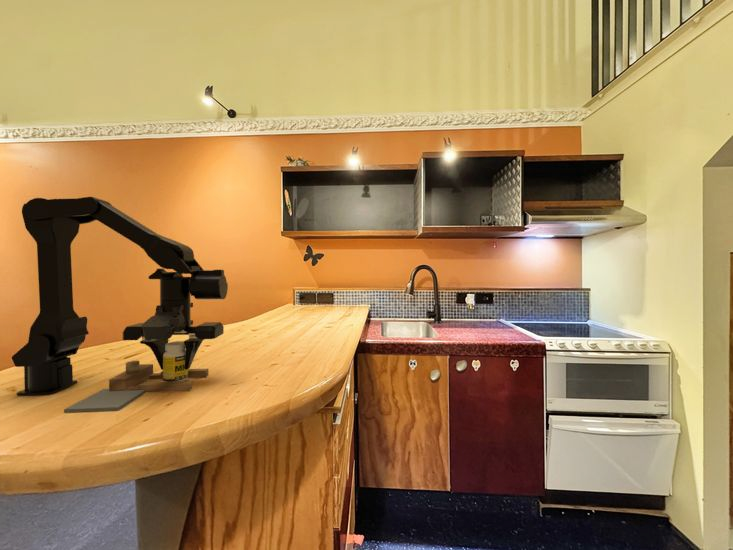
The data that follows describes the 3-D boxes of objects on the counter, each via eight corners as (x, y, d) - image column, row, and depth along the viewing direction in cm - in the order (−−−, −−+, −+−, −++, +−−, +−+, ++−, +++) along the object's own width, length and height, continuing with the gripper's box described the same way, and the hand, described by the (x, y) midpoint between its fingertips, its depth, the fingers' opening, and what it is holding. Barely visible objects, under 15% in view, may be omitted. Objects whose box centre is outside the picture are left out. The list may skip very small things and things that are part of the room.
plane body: (109, 393, 61) (108, 369, 61) (139, 377, 70) (139, 356, 70) (189, 391, 62) (189, 367, 62) (208, 375, 72) (208, 354, 72)
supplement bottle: (175, 385, 64) (175, 346, 64) (157, 383, 65) (157, 345, 64) (193, 377, 68) (193, 341, 68) (175, 375, 69) (175, 340, 69)
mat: (64, 412, 53) (64, 409, 53) (103, 391, 62) (103, 388, 62) (118, 410, 54) (118, 407, 54) (149, 390, 63) (149, 387, 63)
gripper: (101, 304, 57) (102, 384, 57) (203, 303, 59) (203, 381, 59) (139, 298, 68) (140, 365, 69) (224, 298, 70) (224, 363, 70)
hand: (175, 369), depth 66 cm, fingers closed on supplement bottle, 5 cm apart
